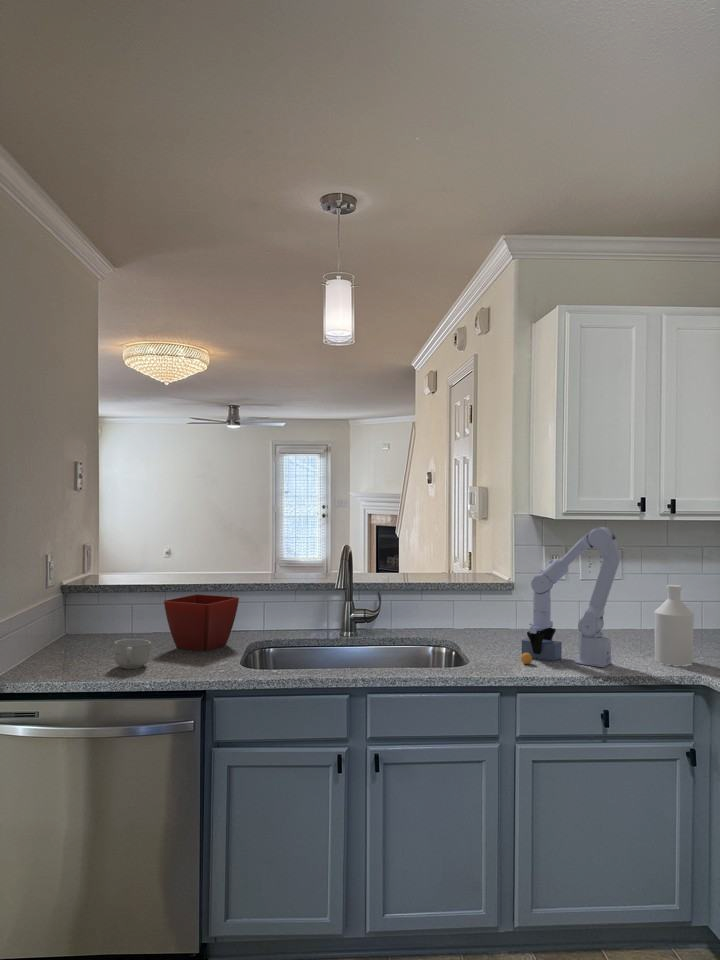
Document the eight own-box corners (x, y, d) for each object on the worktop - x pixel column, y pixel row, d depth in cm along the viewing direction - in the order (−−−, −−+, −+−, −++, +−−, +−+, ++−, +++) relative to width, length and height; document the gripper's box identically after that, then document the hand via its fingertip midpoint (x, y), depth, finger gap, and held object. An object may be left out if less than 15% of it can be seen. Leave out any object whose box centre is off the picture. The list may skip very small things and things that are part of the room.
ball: (534, 663, 241) (534, 652, 241) (529, 665, 238) (529, 654, 238) (523, 662, 243) (523, 651, 243) (518, 664, 240) (519, 652, 240)
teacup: (121, 662, 239) (121, 637, 239) (155, 663, 239) (155, 637, 239) (105, 673, 225) (105, 646, 225) (140, 674, 225) (141, 647, 225)
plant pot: (196, 639, 276) (196, 593, 276) (239, 644, 268) (240, 597, 268) (162, 649, 258) (162, 600, 258) (207, 655, 250) (207, 604, 250)
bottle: (694, 668, 237) (695, 588, 237) (654, 664, 241) (654, 586, 241) (692, 659, 248) (692, 584, 248) (653, 656, 252) (654, 582, 252)
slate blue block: (561, 658, 249) (561, 641, 249) (554, 661, 244) (554, 644, 244) (528, 653, 256) (528, 637, 256) (521, 656, 251) (521, 640, 251)
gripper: (539, 607, 258) (538, 646, 258) (521, 612, 247) (521, 653, 247) (558, 609, 254) (558, 649, 254) (541, 615, 243) (541, 657, 243)
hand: (541, 651), depth 250 cm, fingers open, 7 cm apart
